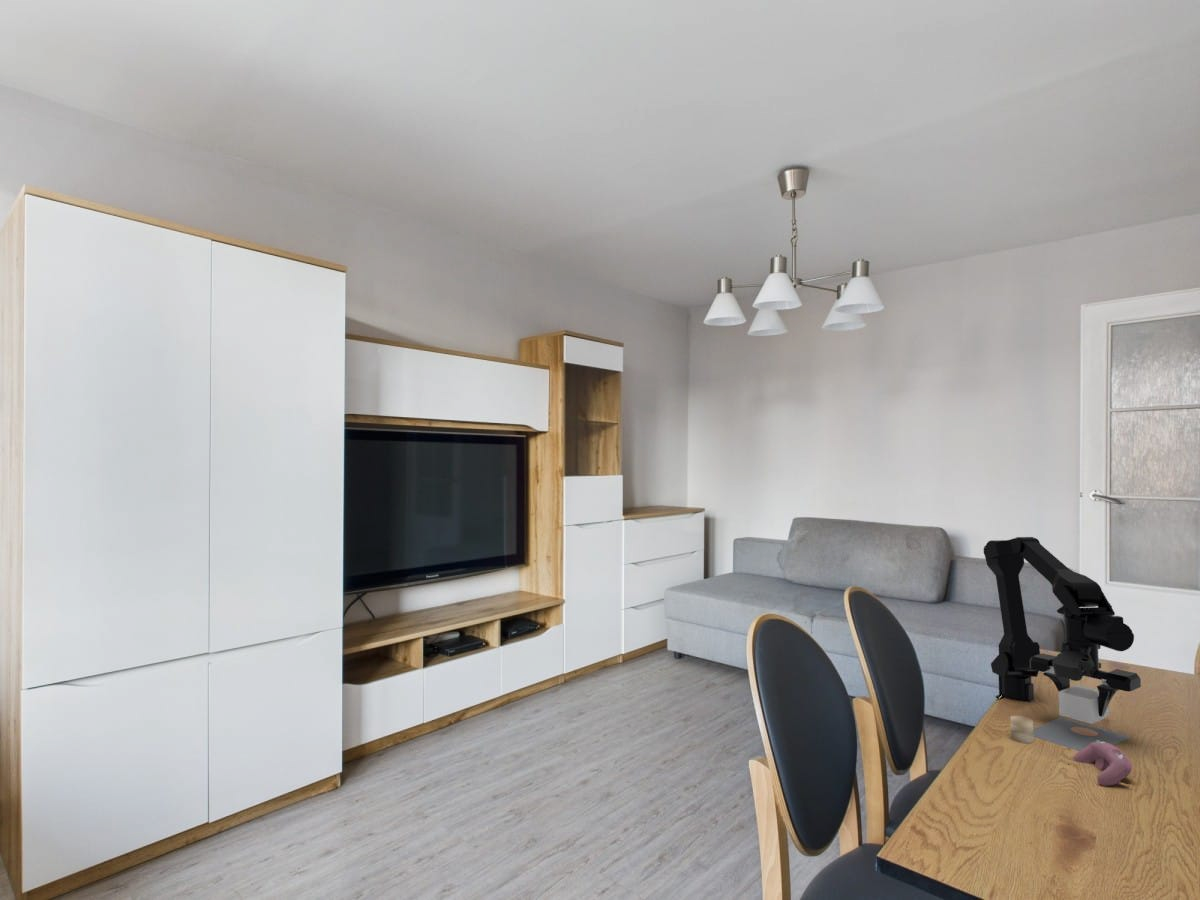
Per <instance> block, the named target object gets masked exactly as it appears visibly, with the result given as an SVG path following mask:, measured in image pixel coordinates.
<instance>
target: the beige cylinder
mask: <svg viewBox="0 0 1200 900" xmlns="http://www.w3.org/2000/svg"><path fill="white" fill-rule="evenodd" d="M1009 719H1010V739H1011V740H1012V741H1015V742H1017V743H1021V744H1033V743H1034V742H1035V739H1034V738H1035V737H1034V731H1033V729H1034V720H1033V719H1031V718H1030V717H1026V716H1022V715H1011V716H1010V718H1009Z"/></svg>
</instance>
